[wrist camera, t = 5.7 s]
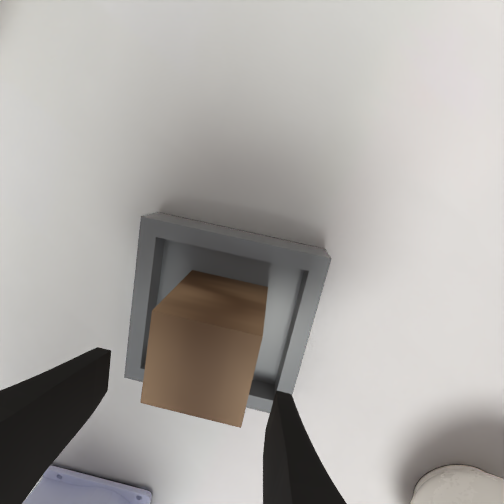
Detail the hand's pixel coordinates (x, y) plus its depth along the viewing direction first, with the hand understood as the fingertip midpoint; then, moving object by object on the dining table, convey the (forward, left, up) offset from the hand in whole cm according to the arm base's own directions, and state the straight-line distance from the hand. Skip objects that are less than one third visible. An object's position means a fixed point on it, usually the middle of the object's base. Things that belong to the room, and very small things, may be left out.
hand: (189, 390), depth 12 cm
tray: (0, 0, -8) cm, 8 cm away
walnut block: (0, 0, -7) cm, 7 cm away
